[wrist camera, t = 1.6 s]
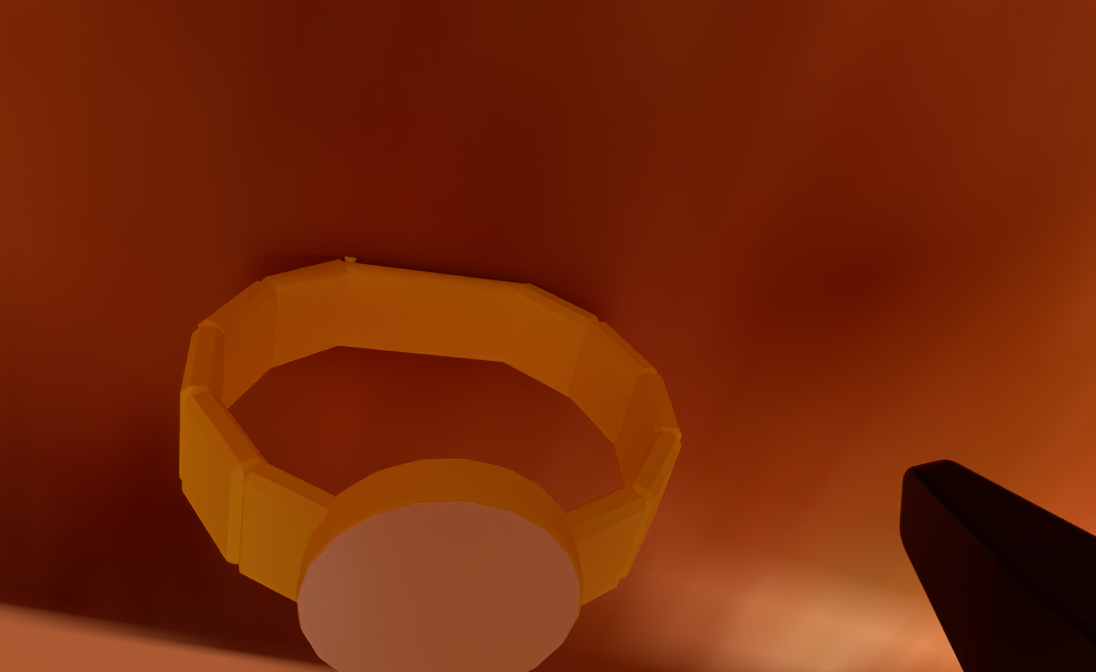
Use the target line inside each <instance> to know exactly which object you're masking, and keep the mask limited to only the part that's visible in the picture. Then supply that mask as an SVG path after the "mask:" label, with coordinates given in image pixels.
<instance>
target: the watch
mask: <svg viewBox="0 0 1096 672" xmlns="http://www.w3.org/2000/svg"><path fill="white" fill-rule="evenodd" d="M336 346H347V347H357V348H367V349H377V350H387V351H397V352H407V353H418V354H428V355H438V356H448V357H458V358H468V359H478V360H488V361H499V362H504V363H506V364H508V365H510V366H512V367H513V368H515V369H517V370H519V371H521V372H523V373H525V374H527V375H528V376H530V377H532V378H534V379H536V380H538V381H540V382H542V383H543V384H545V385H547V386H549V387H551V388H553V389H555V390H556V391H558V392H560V393H562V394H564V395H566V396H568V397H570V398H571V399H572V400H573V401H574V402H575V403H576V404H577V405H578V407H579V408H580V409H581V410H582V411H583V412H584V413H585V414H586V415H587V416H588V417H589V419H590V420H591V421H592V422H593V423H594V424H595V425H596V426H597V427H598V428H599V429H600V431H601V432H602V433H603V434H604V435H605V436H606V437H607V438H608V439H609V440H610V442H611V443H612V444H613V445H614V447H615V451H616V455H617V460H618V464H619V468H620V473H621V477H622V482H623V486H624V488H621V489H619V490H617V491H614V492H612V493H610V494H607V495H605V496H603V497H600V498H598V499H596V500H594V501H591V502H589V503H587V504H584V505H582V506H580V507H577V508H575V509H573V510H571V511H568V512H566V513H565V511H564V510H563V509H562V508H561V507H560V506H559V505H558V503H557V502H556V501H555V500H554V499H553V498H552V497H551V496H550V494H549V493H548V492H547V491H546V490H545V489H544V488H543V487H541V486H540V485H538V484H536V483H534V482H533V481H531V480H529V479H527V478H525V477H524V476H522V475H520V474H518V473H516V472H515V471H513V470H511V469H508V468H506V467H502V466H498V465H493V464H489V463H485V462H480V461H476V460H472V459H466V458H446V459H420V460H415V461H411V462H407V463H404V464H400V465H397V466H393V467H389V468H386V469H382V470H379V471H376V472H374V473H372V474H370V475H369V476H367V477H365V478H364V479H362V480H360V481H359V482H357V483H355V484H353V485H352V486H350V487H348V488H347V489H345V490H343V491H342V492H340V493H339V494H338V495H337V496H334V495H332V494H330V493H328V492H326V491H324V490H322V489H320V488H318V487H316V486H314V485H312V484H310V483H308V482H306V481H303V480H301V479H299V478H297V477H295V476H293V475H291V474H289V473H287V472H285V471H283V470H281V469H279V468H277V467H275V466H273V465H270V464H268V463H267V461H266V460H265V459H264V457H263V456H262V455H261V453H260V452H259V451H258V449H257V448H256V447H255V445H254V444H253V443H252V441H251V440H250V439H249V437H248V436H247V435H246V433H245V432H244V431H243V429H242V428H241V427H240V425H239V424H238V423H237V421H236V420H235V419H234V417H233V416H232V415H231V413H230V412H229V411H228V408H229V407H230V406H231V405H232V404H233V403H234V402H235V401H237V400H238V399H239V398H240V397H241V396H242V395H243V394H244V393H245V392H246V391H247V390H248V389H249V388H250V387H251V386H252V385H253V384H254V383H256V382H257V381H258V380H259V379H260V378H261V377H262V376H263V375H264V374H265V373H266V372H267V371H268V370H269V369H270V368H273V367H276V366H279V365H282V364H285V363H288V362H291V361H294V360H297V359H300V358H303V357H306V356H309V355H312V354H315V353H318V352H321V351H324V350H327V349H330V348H333V347H336ZM681 437H682V434H681V431H680V428H679V425H678V422H677V419H676V416H675V413H674V410H673V407H672V404H671V401H670V398H669V396H668V393H667V390H666V387H665V384H664V381H663V379H662V378H661V376H660V375H659V374H657V371H656V369H655V368H654V367H653V366H652V365H651V364H650V363H649V362H648V361H647V360H646V359H645V358H644V357H643V356H642V355H641V354H639V353H638V352H637V351H636V350H635V349H634V348H633V347H632V346H631V345H630V344H629V343H628V342H627V341H625V340H624V339H623V338H622V337H621V336H620V335H619V334H618V333H617V332H616V331H615V330H614V329H613V328H612V327H610V326H609V325H608V324H607V323H606V322H605V321H603V322H599V320H598V318H597V316H596V315H594V314H592V313H590V312H588V311H586V310H584V309H582V308H580V307H578V306H576V305H573V304H571V303H569V302H567V301H565V300H563V299H561V298H559V297H557V296H555V295H553V294H551V293H549V292H547V291H545V290H543V289H541V288H539V287H537V286H535V285H533V284H530V283H527V284H524V283H516V282H507V281H499V280H491V279H483V278H475V277H467V276H459V275H450V274H442V273H434V272H426V271H418V270H410V269H402V268H393V267H385V266H377V265H369V264H361V263H356V258H353V257H347V256H345V262H343V261H342V260H340V259H337V260H333V261H329V262H325V263H321V264H317V265H312V266H308V267H304V268H300V269H296V270H292V271H288V272H284V273H280V274H275V275H271V276H267V277H265V278H264V279H262V281H256V282H254V283H253V284H251V285H250V286H248V287H247V288H246V289H244V290H243V291H242V292H240V293H239V294H238V295H236V296H235V297H234V298H232V299H231V300H230V301H228V302H227V303H226V304H224V305H223V306H222V307H220V308H219V309H218V310H216V311H215V312H214V313H212V314H211V315H210V316H209V317H207V318H206V319H205V320H203V321H202V322H201V323H199V324H198V329H197V330H196V331H194V332H193V333H192V337H191V341H190V346H189V351H188V356H187V361H186V366H185V371H184V376H183V381H182V386H181V391H180V462H179V478H180V479H181V480H182V491H183V493H184V495H185V496H186V498H187V499H188V501H189V502H190V504H191V506H192V507H193V509H194V510H195V512H196V513H197V515H198V517H199V518H200V520H201V521H202V523H203V525H204V526H205V528H206V529H207V531H208V532H209V534H210V536H211V537H212V539H213V540H214V542H215V544H216V545H217V547H218V548H219V550H220V551H221V553H222V555H223V556H224V558H225V559H226V561H228V562H230V563H233V564H239V572H240V573H242V574H243V575H245V576H247V577H249V578H251V579H253V580H255V581H257V582H259V583H261V584H263V585H264V586H266V587H268V588H270V589H272V590H274V591H276V592H278V593H280V594H282V595H284V596H285V597H287V598H289V599H291V600H293V601H295V602H297V608H298V616H299V623H300V626H301V630H302V632H303V633H304V635H305V636H306V638H307V640H308V641H309V643H310V644H311V646H312V647H313V649H314V651H315V652H316V654H317V655H318V657H319V658H321V659H322V660H323V661H325V662H326V663H327V664H329V665H330V666H331V667H333V668H334V669H335V670H336V671H338V672H528V671H530V670H532V669H534V668H535V667H537V666H538V665H539V664H540V663H541V662H542V661H543V660H544V659H546V658H547V657H548V656H549V655H550V654H551V653H552V652H553V651H555V650H556V649H557V648H558V647H559V646H560V645H561V644H562V643H563V642H564V640H565V639H566V637H567V635H568V634H569V632H570V630H571V629H572V627H573V625H574V623H575V622H576V620H577V618H578V616H579V614H580V610H581V606H582V605H584V604H586V603H588V602H590V601H592V600H594V599H595V598H597V597H599V596H601V595H603V594H605V593H606V592H608V591H610V590H612V589H614V588H616V587H617V585H618V583H619V580H620V579H621V578H626V577H627V575H628V573H629V571H630V568H631V566H632V564H633V562H634V560H635V558H636V556H637V554H638V551H639V549H640V547H641V545H642V543H643V541H644V539H645V537H646V534H647V532H648V530H649V528H650V526H651V524H652V522H653V520H654V517H655V515H656V512H657V509H658V507H659V504H660V501H661V499H662V496H663V494H664V491H665V488H666V486H667V483H668V480H669V478H670V475H671V472H672V470H673V467H674V464H675V462H676V459H677V456H678V454H679V451H680V449H681V446H682V445H681V443H680V439H681Z"/></svg>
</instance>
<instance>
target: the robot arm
mask: <svg viewBox="0 0 1096 672" xmlns="http://www.w3.org/2000/svg"><path fill="white" fill-rule="evenodd" d="M900 535H901V539H902V543H903V546H904V549H905V551H906V553H907V555H908V557H909V560H910V562H911V564H912V566H913V568H914V570H915V572H916V574H917V576H918V578H919V580H920V582H921V584H922V587H923V589H924V591H925V593H926V595H927V597H928V599H929V601H930V603H931V605H932V607H933V609H934V611H935V613H936V616H937V618H938V620H939V622H940V624H941V626H942V628H943V630H944V632H945V634H946V636H947V638H948V640H949V643H950V645H951V647H952V649H953V651H954V653H955V655H956V657H957V659H958V661H959V663H960V665H961V667H962V670H963V671H964V672H1096V536H1094V535H1092V534H1090V533H1089V532H1087V531H1085V530H1083V529H1081V528H1079V527H1077V526H1075V525H1073V524H1072V523H1070V522H1068V521H1066V520H1064V519H1062V518H1060V517H1058V516H1056V515H1055V514H1053V513H1051V512H1049V511H1047V510H1045V509H1043V508H1041V507H1039V506H1038V505H1036V504H1034V503H1032V502H1030V501H1028V500H1026V499H1024V498H1022V497H1021V496H1019V495H1017V494H1015V493H1013V492H1011V491H1009V490H1007V489H1006V488H1004V487H1002V486H1000V485H998V484H996V483H994V482H992V481H990V480H989V479H987V478H985V477H983V476H981V475H979V474H977V473H975V472H973V471H972V470H970V469H968V468H966V467H964V466H962V465H960V464H958V463H956V462H954V461H950V460H938V461H934V462H929V463H925V464H921V465H917V466H913V467H910V468H909V469H907V471H906V472H905V474H904V477H903V484H902V498H901V512H900Z"/></svg>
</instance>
